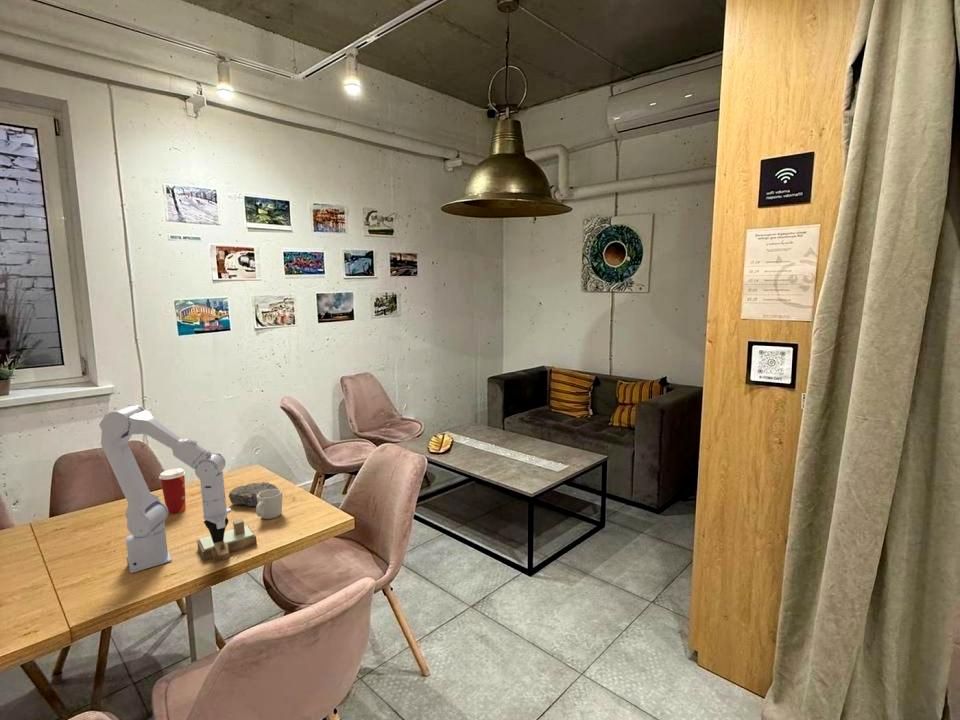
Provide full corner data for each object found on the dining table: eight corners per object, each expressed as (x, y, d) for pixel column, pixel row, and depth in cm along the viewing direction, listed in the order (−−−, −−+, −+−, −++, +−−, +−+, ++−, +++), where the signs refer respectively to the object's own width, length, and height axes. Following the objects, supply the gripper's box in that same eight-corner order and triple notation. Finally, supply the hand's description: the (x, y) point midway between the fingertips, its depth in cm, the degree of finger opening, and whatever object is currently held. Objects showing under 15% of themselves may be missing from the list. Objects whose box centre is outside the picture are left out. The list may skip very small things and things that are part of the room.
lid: (204, 550, 139) (203, 537, 139) (199, 540, 146) (197, 527, 145) (253, 536, 147) (252, 522, 147) (246, 526, 153) (245, 514, 153)
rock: (284, 498, 182) (254, 494, 188) (283, 481, 181) (253, 477, 187) (256, 511, 170) (225, 506, 176) (255, 493, 170) (224, 488, 176)
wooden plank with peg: (219, 555, 135) (218, 548, 135) (214, 547, 140) (213, 539, 139) (228, 552, 136) (227, 545, 136) (223, 544, 141) (223, 537, 141)
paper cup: (193, 508, 174) (189, 470, 172) (170, 517, 168) (165, 477, 166) (181, 504, 178) (177, 466, 176) (158, 512, 172) (154, 473, 170)
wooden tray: (205, 565, 137) (204, 553, 136) (197, 548, 146) (196, 537, 145) (259, 548, 145) (258, 537, 145) (248, 533, 155) (247, 523, 154)
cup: (269, 526, 159) (267, 502, 158) (247, 524, 161) (245, 500, 160) (288, 511, 170) (287, 489, 169) (268, 510, 171) (266, 487, 170)
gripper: (235, 501, 136) (239, 548, 138) (223, 486, 147) (228, 530, 149) (206, 509, 132) (211, 557, 133) (196, 493, 143) (201, 537, 145)
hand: (218, 543), depth 141 cm, fingers closed
